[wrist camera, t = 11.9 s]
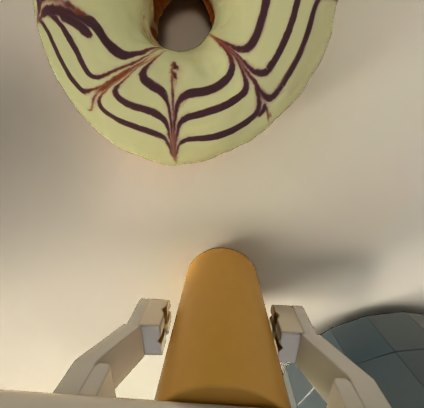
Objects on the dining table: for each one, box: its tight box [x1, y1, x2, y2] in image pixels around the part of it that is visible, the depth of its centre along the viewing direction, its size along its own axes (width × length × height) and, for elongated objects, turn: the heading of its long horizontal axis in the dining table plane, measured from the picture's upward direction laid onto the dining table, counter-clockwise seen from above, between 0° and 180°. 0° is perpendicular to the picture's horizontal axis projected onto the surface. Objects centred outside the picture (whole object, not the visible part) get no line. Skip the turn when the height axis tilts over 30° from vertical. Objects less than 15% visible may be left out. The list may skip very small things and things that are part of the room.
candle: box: [154, 248, 291, 408], centre depth 9 cm, size 5×5×8 cm
